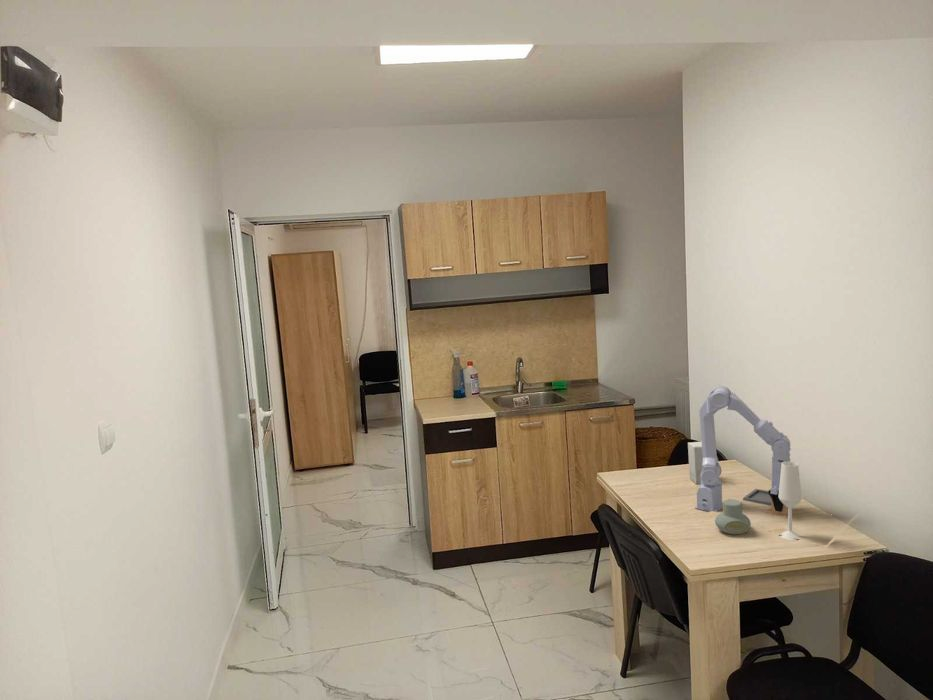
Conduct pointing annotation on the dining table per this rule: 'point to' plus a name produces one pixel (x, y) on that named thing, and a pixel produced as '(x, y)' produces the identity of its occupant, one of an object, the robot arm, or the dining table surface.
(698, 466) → the skincare box
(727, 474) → the dining table surface
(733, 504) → the air freshener
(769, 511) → the stand
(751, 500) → the tray
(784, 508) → the brown cube box
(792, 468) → the champagne flute
